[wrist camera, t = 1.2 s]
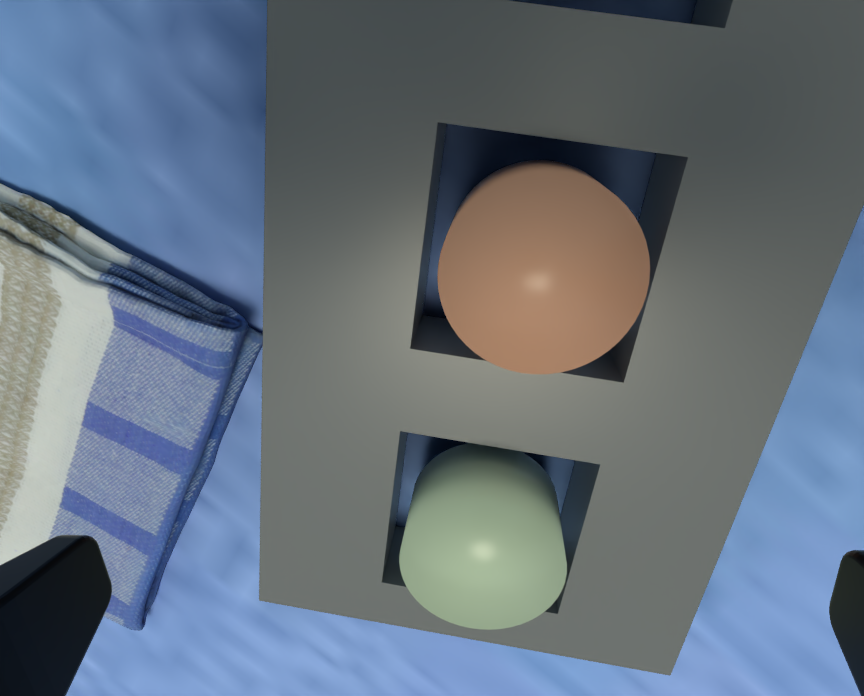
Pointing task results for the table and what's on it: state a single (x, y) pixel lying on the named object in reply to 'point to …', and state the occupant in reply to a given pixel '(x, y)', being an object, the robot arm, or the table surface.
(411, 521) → the sage button
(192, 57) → the table surface
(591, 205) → the terracotta button
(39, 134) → the table surface
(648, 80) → the button panel
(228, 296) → the table surface
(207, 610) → the table surface
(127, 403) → the dish towel
